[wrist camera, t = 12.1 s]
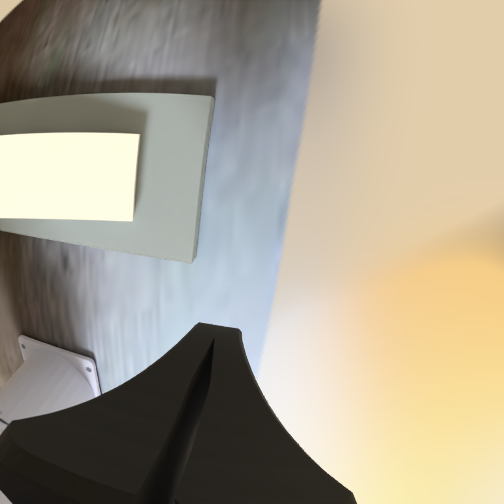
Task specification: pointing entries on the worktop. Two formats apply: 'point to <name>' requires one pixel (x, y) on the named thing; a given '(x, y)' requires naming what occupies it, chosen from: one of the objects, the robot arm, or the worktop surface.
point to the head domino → (69, 176)
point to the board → (148, 170)
